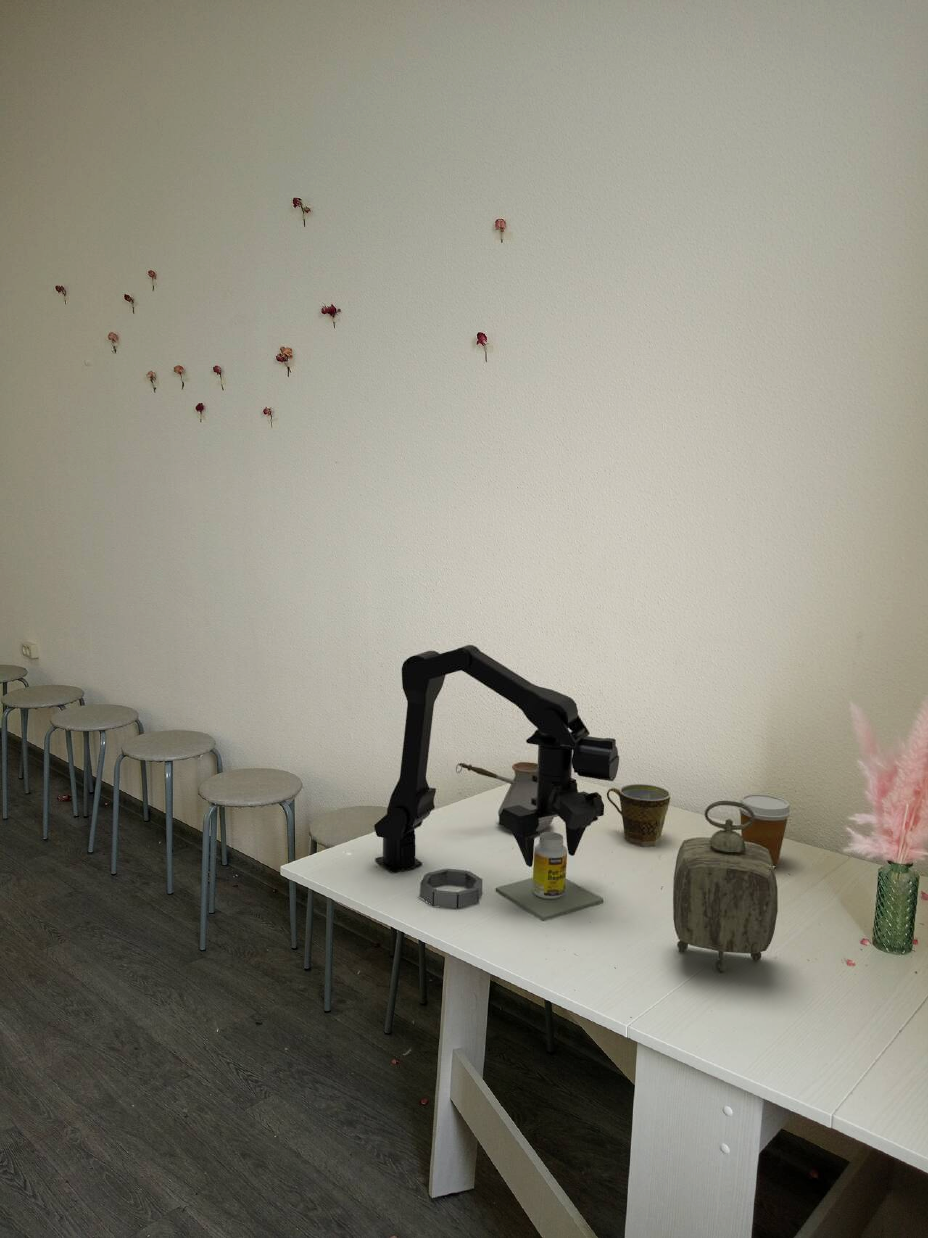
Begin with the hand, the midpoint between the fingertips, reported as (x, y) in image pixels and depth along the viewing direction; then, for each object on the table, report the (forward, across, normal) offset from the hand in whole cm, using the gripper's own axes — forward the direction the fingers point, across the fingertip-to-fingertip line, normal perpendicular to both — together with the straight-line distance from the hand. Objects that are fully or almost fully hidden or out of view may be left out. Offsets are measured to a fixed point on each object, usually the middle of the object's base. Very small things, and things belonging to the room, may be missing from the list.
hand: (550, 860), depth 159 cm
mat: (+6, 0, 0) cm, 6 cm away
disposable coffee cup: (+7, +44, -9) cm, 45 cm away
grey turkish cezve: (+7, +12, +29) cm, 32 cm away
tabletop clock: (+7, +7, -31) cm, 32 cm away
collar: (+6, -14, +9) cm, 18 cm away
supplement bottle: (+6, 0, 0) cm, 6 cm away
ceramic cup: (+7, +32, +12) cm, 35 cm away
